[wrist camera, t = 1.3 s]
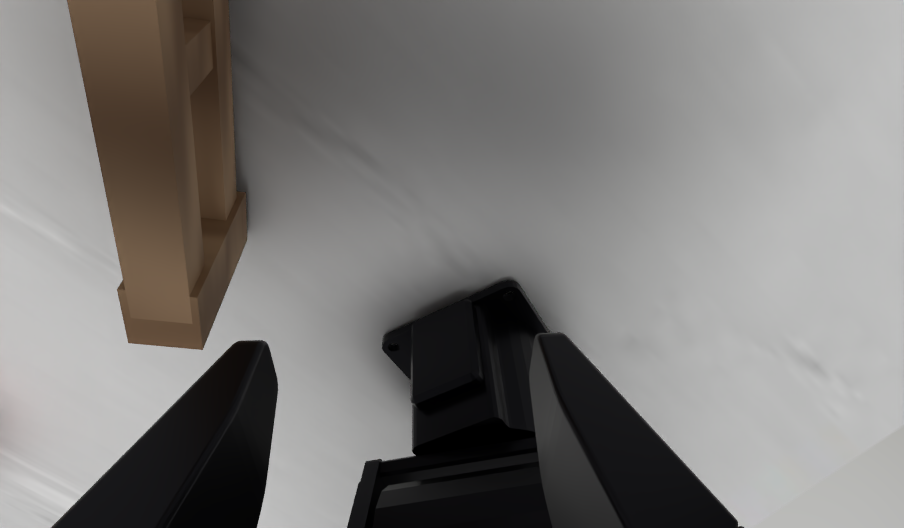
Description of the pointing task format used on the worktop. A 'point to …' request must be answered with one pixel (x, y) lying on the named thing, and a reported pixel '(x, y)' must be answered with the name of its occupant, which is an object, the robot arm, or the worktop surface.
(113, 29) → the gate
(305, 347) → the worktop surface
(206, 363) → the worktop surface
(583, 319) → the worktop surface
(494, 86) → the worktop surface
